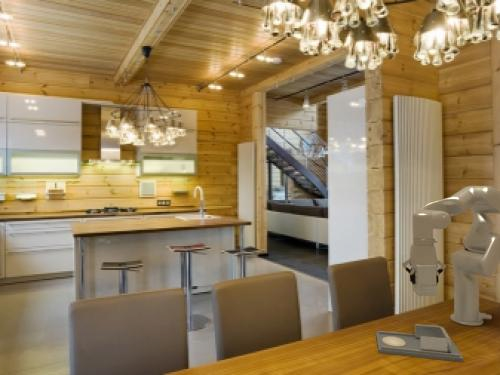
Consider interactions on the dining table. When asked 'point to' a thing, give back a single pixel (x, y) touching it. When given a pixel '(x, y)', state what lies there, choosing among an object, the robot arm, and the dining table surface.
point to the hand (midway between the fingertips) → (424, 283)
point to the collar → (433, 338)
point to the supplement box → (425, 280)
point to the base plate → (411, 347)
